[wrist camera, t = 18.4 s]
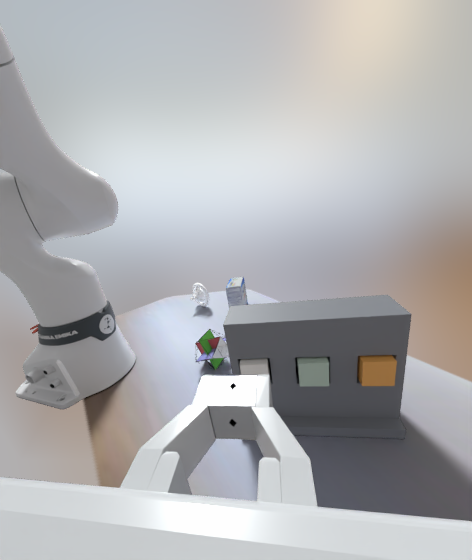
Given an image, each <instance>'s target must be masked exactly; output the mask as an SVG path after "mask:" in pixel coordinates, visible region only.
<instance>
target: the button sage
mask: <svg viewBox="0 0 472 560" xmlns="http://www.w3.org/2000/svg"><path fill="white" fill-rule="evenodd" d="M296 361H297V371H298V378H299V384H300V386H329V362H328V359H327V357H296Z"/></svg>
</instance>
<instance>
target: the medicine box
mask: <svg viewBox="0 0 472 560" xmlns="http://www.w3.org/2000/svg"><path fill="white" fill-rule="evenodd" d="M226 294H227V299H228V304H229V308H230V306H239V305H247V303H248V302H247V295H246V289H245V282H244V278H243V277H240V278H232V279H230V280H229V283H228V285H227V287H226Z"/></svg>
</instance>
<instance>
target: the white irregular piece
mask: <svg viewBox="0 0 472 560" xmlns="http://www.w3.org/2000/svg"><path fill="white" fill-rule="evenodd" d="M197 286H198V287H199V288H198V289H197V290H196V287H197ZM194 298H195V299H194ZM190 300H194V301H197V303H198V304H199V305H201V306H203V307H206V306H207V305H208V304H209V294H208V292H207V290H206V288H205V287H204V286H203V285H202V284H200V283H195V284H194V285H193V295H192V297H191V298H190ZM205 300H206V303H202V301H205Z"/></svg>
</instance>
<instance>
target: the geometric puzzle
mask: <svg viewBox="0 0 472 560" xmlns="http://www.w3.org/2000/svg"><path fill="white" fill-rule="evenodd" d="M210 330H211V329H209V330H208V331H207V332H206V333H205V334H204V335H203V336H202V337H201V338H200V339H199V340H198V341H197V342H199V343H197V342H196V343H195V344H196V345H197V347H198V349H199V350H200V352H201V354H202V355H201V356H200V357H199V359H198V360H197V361H196V362H199V361H204V360H210V361H211V363H212V365H213V367H214V368H215V370H216V369H217V367H218V366H219V365H220V363H221V362H222V360H223V359H224V358H225V357H227V356H229V352H228V347H227V344H226V343H225V340H226V338H221V336H220V337H216V338H214V336H213V334H212V332H211V331H212V330H211V331H210ZM214 333H215V332H214ZM219 334H220V333H219ZM218 336H219V335H218ZM198 349H197V350H198ZM196 358H197V356H196ZM209 368H210V367H209Z"/></svg>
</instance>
